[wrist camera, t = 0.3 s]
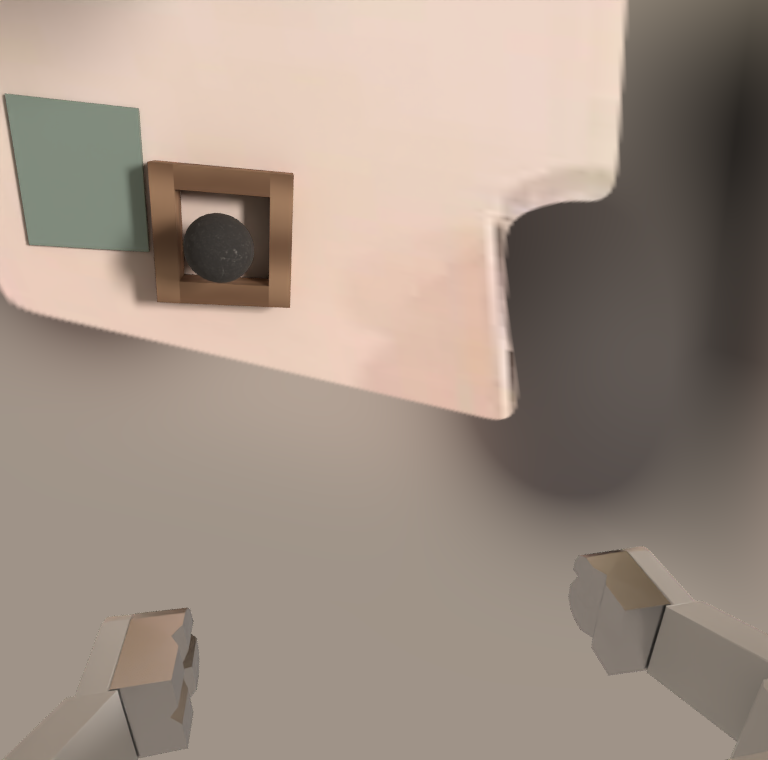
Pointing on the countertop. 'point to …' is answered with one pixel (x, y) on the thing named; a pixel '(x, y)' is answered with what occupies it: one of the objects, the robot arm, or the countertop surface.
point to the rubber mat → (80, 173)
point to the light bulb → (218, 248)
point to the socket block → (169, 238)
